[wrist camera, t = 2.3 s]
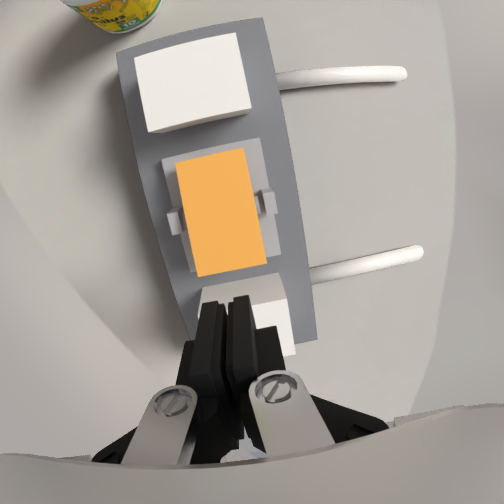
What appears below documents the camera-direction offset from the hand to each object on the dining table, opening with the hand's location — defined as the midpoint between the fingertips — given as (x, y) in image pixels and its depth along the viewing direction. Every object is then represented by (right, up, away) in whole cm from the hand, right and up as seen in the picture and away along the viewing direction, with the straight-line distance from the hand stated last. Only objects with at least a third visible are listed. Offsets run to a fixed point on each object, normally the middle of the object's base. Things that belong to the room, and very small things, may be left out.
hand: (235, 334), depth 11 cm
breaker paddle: (-1, +5, +6) cm, 8 cm away
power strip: (+4, +8, +10) cm, 13 cm away
